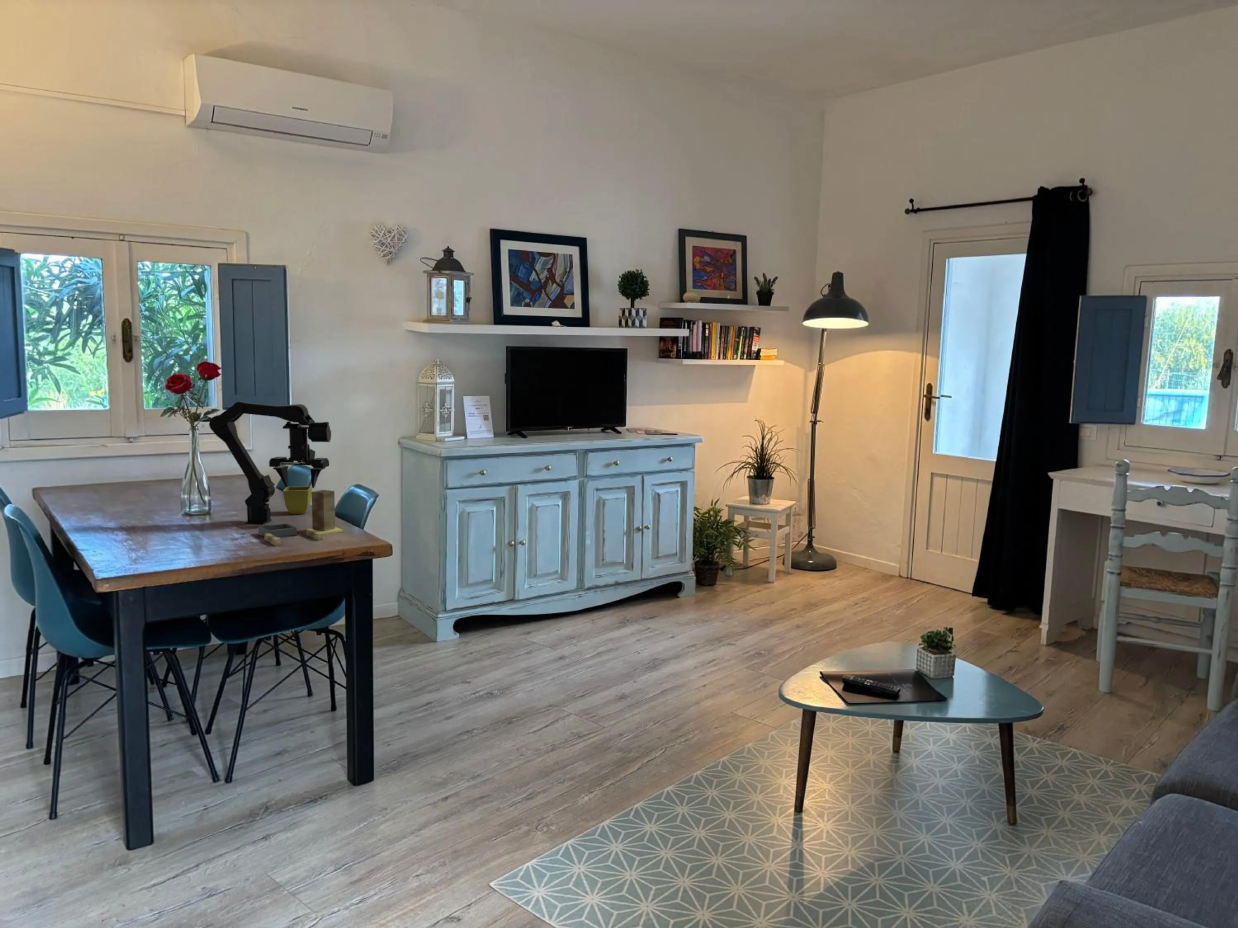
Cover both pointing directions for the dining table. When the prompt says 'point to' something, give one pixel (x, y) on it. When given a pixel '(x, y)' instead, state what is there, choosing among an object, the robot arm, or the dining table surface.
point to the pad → (330, 530)
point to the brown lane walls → (277, 541)
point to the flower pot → (297, 499)
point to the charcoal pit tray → (278, 530)
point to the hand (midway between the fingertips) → (300, 487)
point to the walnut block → (323, 510)
